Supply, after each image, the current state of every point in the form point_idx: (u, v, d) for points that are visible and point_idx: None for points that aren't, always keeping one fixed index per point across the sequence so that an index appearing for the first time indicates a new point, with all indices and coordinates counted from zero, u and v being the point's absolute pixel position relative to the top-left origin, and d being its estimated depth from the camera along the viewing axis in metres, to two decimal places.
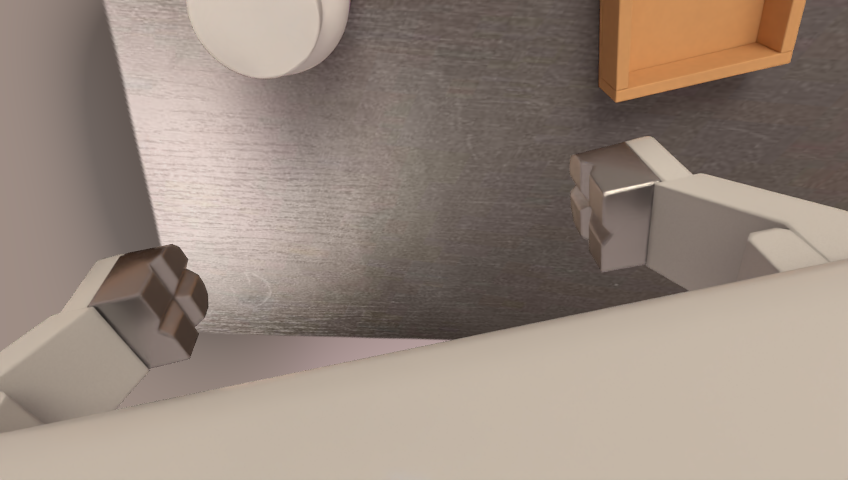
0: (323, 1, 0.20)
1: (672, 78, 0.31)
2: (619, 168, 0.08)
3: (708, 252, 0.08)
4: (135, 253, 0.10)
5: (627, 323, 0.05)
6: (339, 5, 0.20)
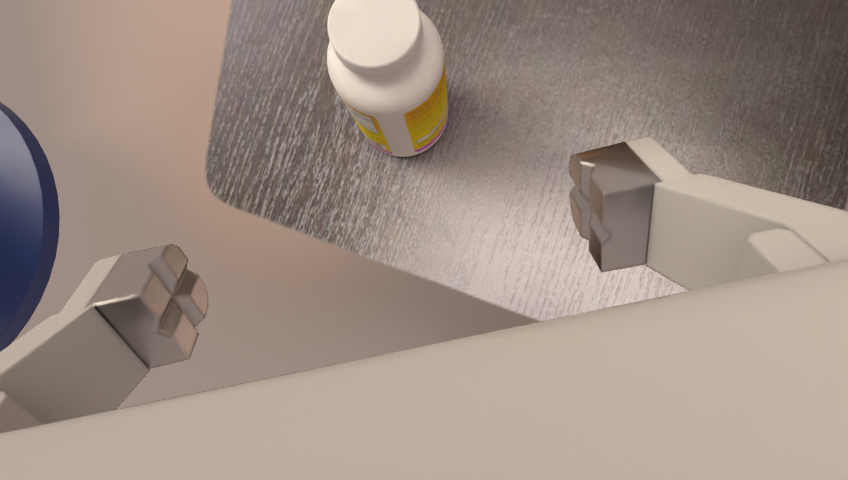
0: None
1: None
2: (619, 168, 0.08)
3: (709, 252, 0.08)
4: (135, 253, 0.10)
5: (627, 323, 0.05)
6: None
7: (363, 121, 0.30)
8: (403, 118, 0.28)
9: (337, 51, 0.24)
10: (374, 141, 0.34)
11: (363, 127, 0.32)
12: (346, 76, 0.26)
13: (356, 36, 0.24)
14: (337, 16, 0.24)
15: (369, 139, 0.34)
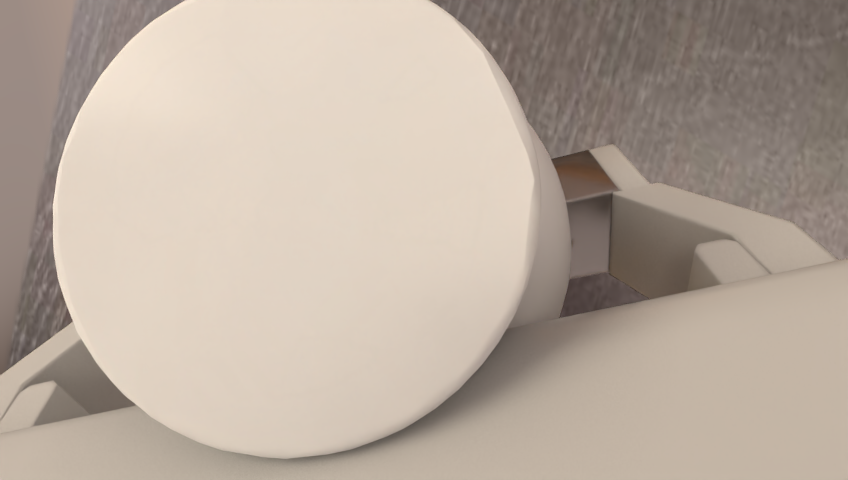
0: None
1: None
2: (580, 177, 0.08)
3: (664, 261, 0.08)
4: None
5: (627, 323, 0.05)
6: None
7: None
8: None
9: (95, 356, 0.04)
10: None
11: None
12: None
13: (193, 273, 0.04)
14: (102, 164, 0.05)
15: None
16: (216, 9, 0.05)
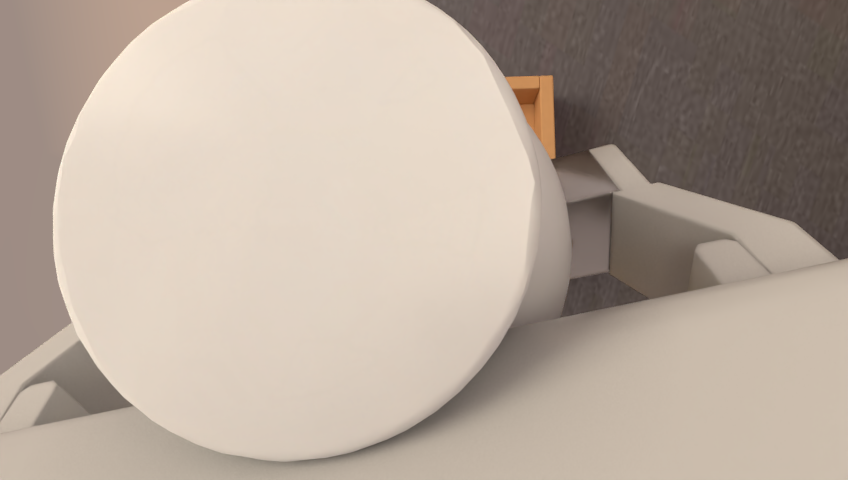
0: None
1: None
2: (580, 177, 0.08)
3: (666, 261, 0.08)
4: None
5: (627, 323, 0.05)
6: None
7: None
8: None
9: (95, 359, 0.04)
10: None
11: None
12: None
13: (193, 277, 0.04)
14: (102, 167, 0.05)
15: None
16: (216, 11, 0.05)
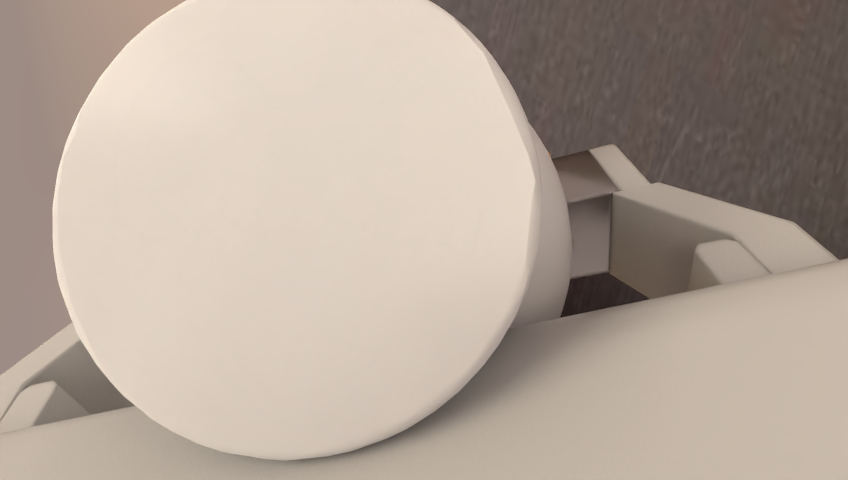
0: None
1: None
2: (580, 177, 0.08)
3: (665, 261, 0.08)
4: None
5: (627, 323, 0.05)
6: None
7: None
8: None
9: (95, 357, 0.04)
10: None
11: None
12: None
13: (192, 275, 0.04)
14: (102, 165, 0.05)
15: None
16: (216, 10, 0.05)
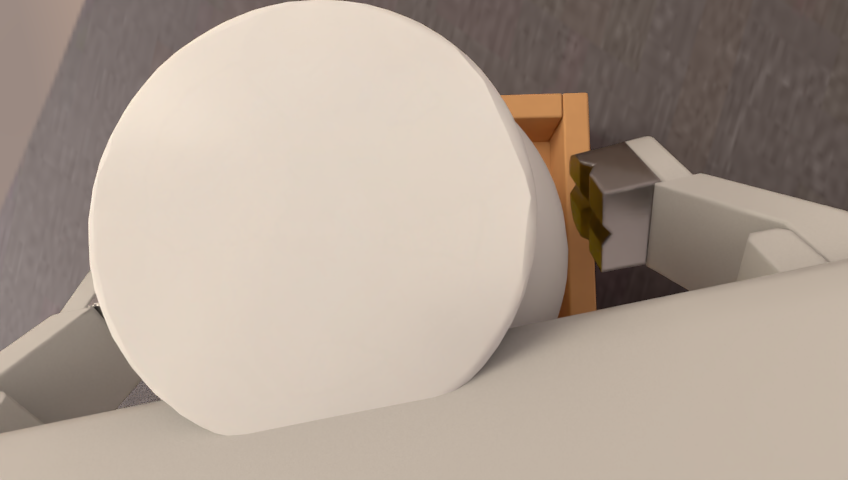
0: None
1: None
2: (619, 168, 0.08)
3: (708, 252, 0.08)
4: None
5: (627, 323, 0.05)
6: None
7: None
8: None
9: (129, 359, 0.05)
10: None
11: None
12: None
13: (218, 284, 0.05)
14: (133, 183, 0.05)
15: None
16: (237, 39, 0.05)
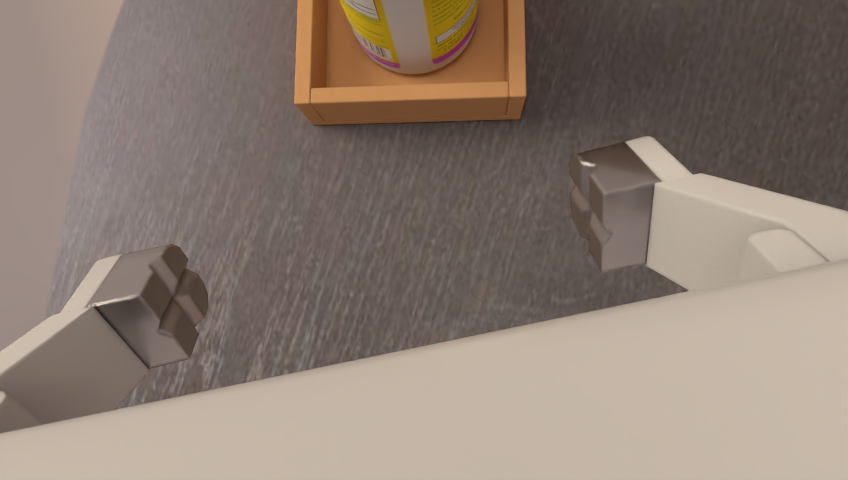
0: None
1: (508, 24, 0.23)
2: (619, 168, 0.08)
3: (708, 252, 0.08)
4: (135, 253, 0.10)
5: (627, 323, 0.05)
6: None
7: None
8: None
9: None
10: (374, 44, 0.23)
11: (356, 13, 0.21)
12: None
13: None
14: None
15: (367, 44, 0.24)
16: None
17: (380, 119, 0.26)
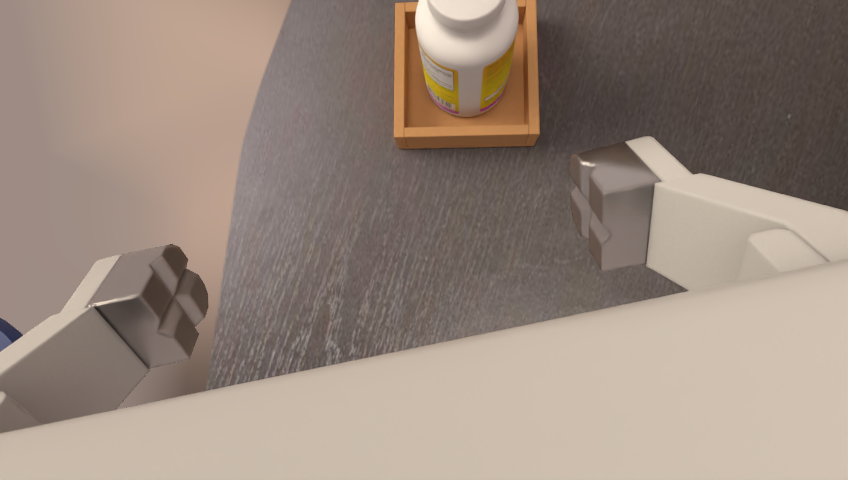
0: None
1: (528, 88, 0.37)
2: (619, 168, 0.08)
3: (709, 252, 0.08)
4: (135, 253, 0.10)
5: (627, 323, 0.05)
6: None
7: (443, 77, 0.33)
8: (482, 72, 0.32)
9: (435, 7, 0.28)
10: (445, 101, 0.37)
11: (439, 85, 0.35)
12: (436, 33, 0.30)
13: None
14: None
15: (439, 100, 0.38)
16: None
17: (443, 145, 0.40)
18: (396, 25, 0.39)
